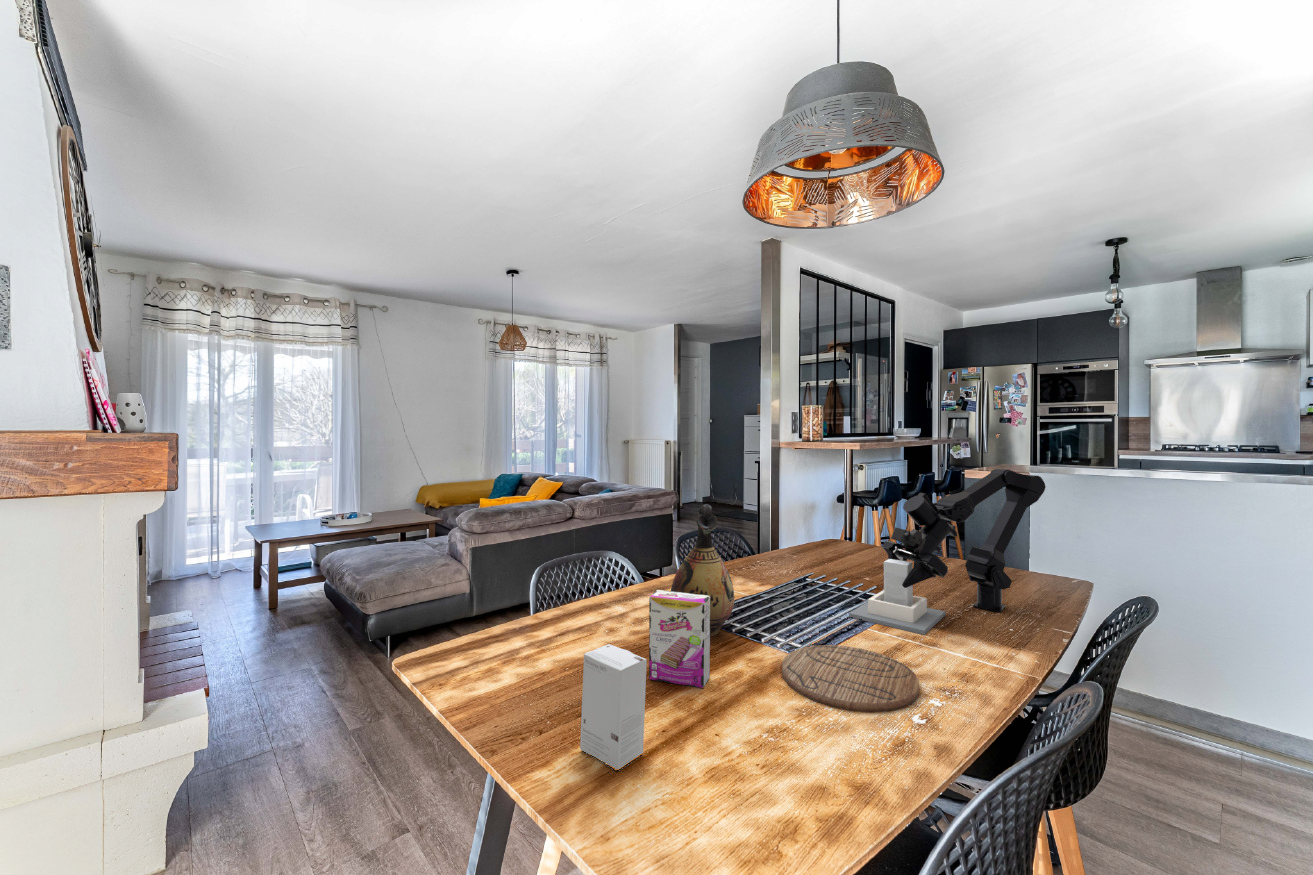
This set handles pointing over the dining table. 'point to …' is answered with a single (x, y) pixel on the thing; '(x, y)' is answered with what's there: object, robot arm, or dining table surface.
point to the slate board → (918, 626)
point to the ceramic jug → (707, 573)
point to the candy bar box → (679, 638)
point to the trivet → (850, 678)
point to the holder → (897, 608)
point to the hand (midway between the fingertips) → (893, 582)
